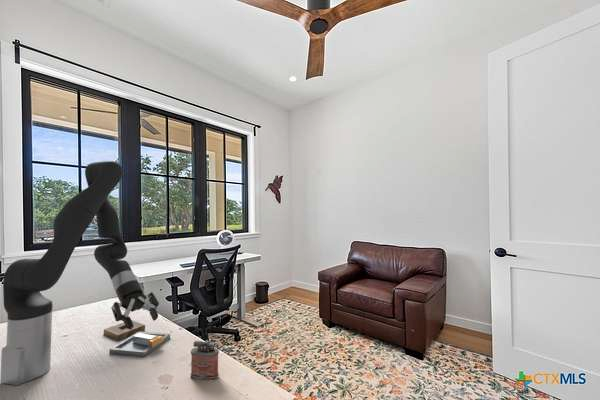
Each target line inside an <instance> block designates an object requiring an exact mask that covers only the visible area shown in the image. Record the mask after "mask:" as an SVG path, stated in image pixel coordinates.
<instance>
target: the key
mask: <svg viewBox="0 0 600 400" xmlns="http://www.w3.org/2000/svg"><path fill="white" fill-rule="evenodd" d="M161 342H163V336H155V335H149V334H143V333H138V334H136V335H134V336H133V343H136V344H142V345H147V346H149V347H154V346H155V345H157V344H159V343H161Z"/></svg>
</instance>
